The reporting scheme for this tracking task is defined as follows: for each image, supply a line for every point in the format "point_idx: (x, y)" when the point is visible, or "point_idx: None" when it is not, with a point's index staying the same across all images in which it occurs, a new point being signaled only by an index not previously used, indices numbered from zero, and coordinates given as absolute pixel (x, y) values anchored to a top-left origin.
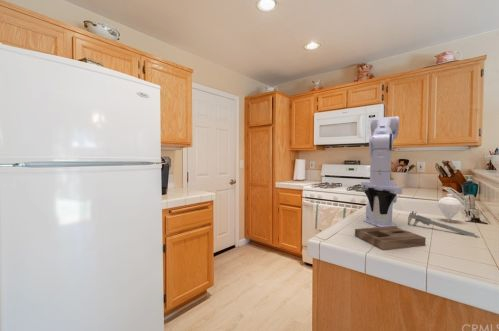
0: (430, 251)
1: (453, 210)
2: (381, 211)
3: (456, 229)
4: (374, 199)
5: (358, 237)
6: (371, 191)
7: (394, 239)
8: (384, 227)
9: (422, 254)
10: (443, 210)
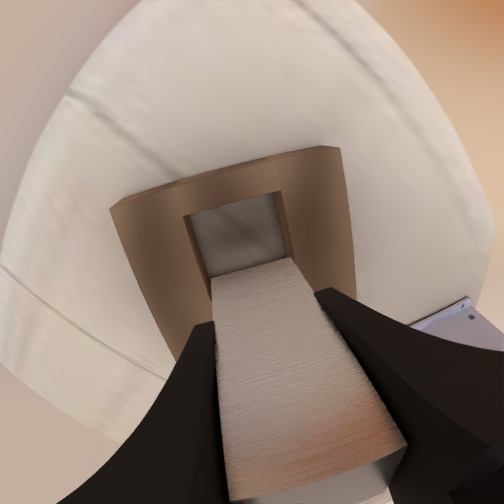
0: (147, 373)
1: (371, 498)
2: (188, 342)
3: None
4: (353, 410)
5: (294, 151)
6: (466, 485)
7: (155, 289)
8: None
9: (110, 334)
10: (387, 487)
